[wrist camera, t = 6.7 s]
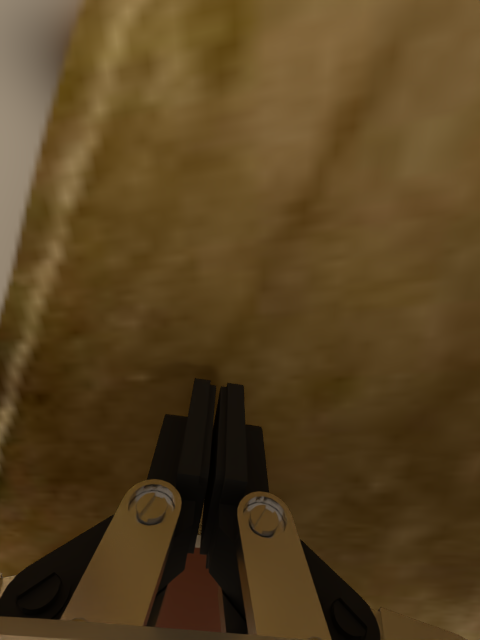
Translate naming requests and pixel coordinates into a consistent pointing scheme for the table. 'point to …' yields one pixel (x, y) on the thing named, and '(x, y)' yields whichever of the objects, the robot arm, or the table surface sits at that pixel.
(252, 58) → the table surface
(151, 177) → the table surface
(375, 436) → the table surface
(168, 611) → the coffee cup
